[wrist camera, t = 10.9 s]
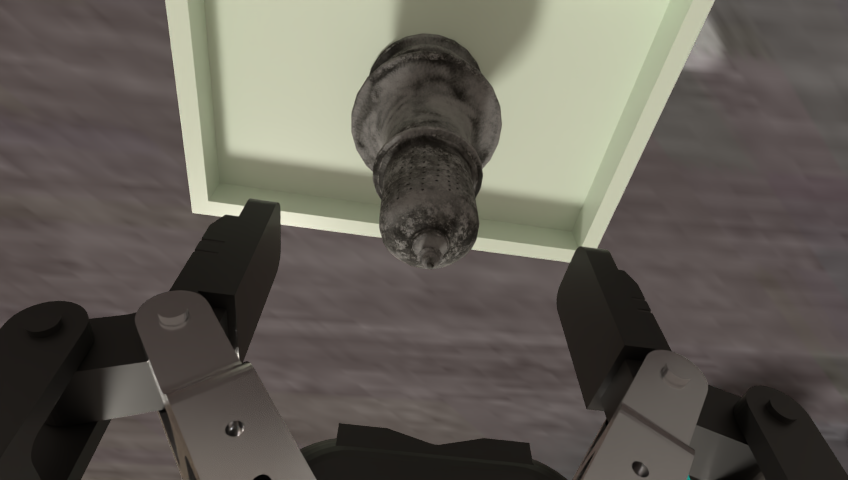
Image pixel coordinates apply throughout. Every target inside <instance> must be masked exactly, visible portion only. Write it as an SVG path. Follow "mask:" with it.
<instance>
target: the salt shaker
mask: <svg viewBox="0 0 848 480" xmlns="http://www.w3.org/2000/svg"><path fill="white" fill-rule="evenodd" d="M501 128H502V119H501V108H500V104H499V102H498V99H497V97H496V94H495V91H494V89H493V87H492V86H491V84H490V83H489V82H488V80H487V79H486V78H485V77H484V75H483V74H482V73H481V71H480V68H479V66H478V63H477V62H476V60H475V59H474V58H473V56H472V55H471V54H470V53H469V51H468V50H467V49H465V48H464V47H463V46H461V45H460V44H459V43H457V42H456V41H455V40H452V39H449V38H447V37H444V36H441V35H437V34H425V33H421V34H416V35H411V36H406V37H404V38H402V39H400V40H398V41H396V42H394V43H392V44H391V45H390V46H389V47H387V48H386V49H385V50H384V51H383V52H382V53H381V54H380V55H379V56H378V58H377V60H376V61H375V63H374V64H373V66H372V68H371V70H370V74H369V76H368V77H367V79H366V80H365V82H364V84H363V85H362V87H361V88H360V90H359V91H358V93H357V95H356V99H355V102H354V106H353V109H352V113H351V133H352V136H353V140H354V143H355V147H356V150H357V152H358V153H359V155H360V156H361V158H362V160H363V161H364V163H365V165H366V166H367V167H368V168H369V169H370V170H371V171H372V172H373V183H374V186H375V190H376V193H377V194H378V196H379V197H380V199H381V207H380V216H379V229H380V233H381V236H382V240H383V243H384V245H385V246H386V248H387V249H388V251H389V252H390V253H391V254H393V255H394V256H395V257H396V258H397V259H399V260H401V261H403V262H405V263H406V264H408V265H410V266H414V267H418V268H424V269H435V268H442V267H445V266H448V265H451V264H453V263H455V262H456V261H458V260H459V259H461V258H463V257H464V256H465V255H466V254H467V253H468V252H469V251H470V250H471V249H472V247H473V245H474V243H475V242H476V240H477V235H478V229H479V217H478V211H477V205H476V197H477V195H478V193H479V191H480V189H481V185H482V179H483V171H482V169H483V168H484V167H485V165H486V164H487V163H488V162H489V161H490V160H491V158H492V156H493V154H494V152H495V149H496V147H497V145H498V143H499V139H500V133H501Z"/></svg>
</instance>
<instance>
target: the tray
mask: <svg viewBox="0 0 848 480" xmlns="http://www.w3.org/2000/svg"><path fill="white" fill-rule="evenodd" d="M714 1H715V0H165V2H166V10H167V18H168V26H169V34H170V41H171V49H172V57H173V65H174V73H175V80H176V88H177V96H178V104H179V112H180V119H181V127H182V135H183V143H184V151H185V158H186V166H187V174H188V182H189V190H190V198H191V205H192V213H198V214H206V215H213V216H221V217H223V216H224V215H233V216H239V215H240V213H241V212H242V210H243V208H244V206H245V204H246V203H247V201H248V199H250V198H251V199H258V200H265V201H272V202H278V203H279V204H280V211H281V224H282V225H289V226H297V227H305V228H312V229H320V230H327V231H335V232H343V233H350V234H358V235H365V236H373V237H381V238H382V236H381V233H380V229H379V216H380V207H381V199H380V197H379V196H378V194H377V193H376V190H375V186H374V183H373V172H372V171H371V170H370V169H369V168H368V167H367V166H366V165H365V163H364V161H363V160H362V158H361V156H360V155H359V153H358V152H357V150H356V147H355V143H354V140H353V136H352V133H351V113H352V109H353V106H354V102H355V99H356V95H357V93H358V91H359V90H360V88H361V87H362V85H363V84H364V82H365V80H366V79H367V77H368V76H369V74H370V70H371V68H372V66H373V64H374V63H375V61H376V60H377V58H378V56H379V55H380V54H381V53H382V52H383V51H384V50H385V49H386V48H387V47H389V46H390V45H391V44H392V43H394V42H396V41H398V40H400V39H402V38H404V37H406V36H411V35H416V34H421V33H425V34H437V35H441V36H444V37H447V38H449V39H452V40H455V41H456V42H457V43H459V44H460V45H461V46H463V47H464V48H465V49H467V50H468V51H469V53H470V54H471V55H472V56H473V58H474V59H475V60H476V62H477V63H478V66H479V68H480V71H481V73H482V74H483V75H484V77H485V78H486V79H487V80H488V82H489V83H490V84H491V86H492V87H493V89H494V91H495V94H496V97H497V99H498V102H499V104H500V108H501V119H502V128H501V133H500V139H499V143H498V145H497V147H496V149H495V152H494V154H493V156H492V158H491V160H490V161H489V162H488V163H487V164H486V165H485V167H484V168H483V169H482V171H483V179H482V185H481V189H480V191H479V193H478V195H477V197H476V205H477V211H478V217H479V229H478V235H477V240H476V242H475V243H474V245H473V247H472V250H480V251H487V252H495V253H502V254H510V255H518V256H525V257H533V258H541V259H548V260H556V261H563V262H571V259H572V257H573V255H574V253H575V251H576V249H577V248H578V247H580V246H583V247H590V248H597V247H598V245H599V243H600V241H601V239H602V236H603V234H604V232H605V230H606V228H607V226H608V224H609V222H610V220H611V218H612V215H613V213H614V211H615V209H616V207H617V205H618V203H619V201H620V199H621V197H622V194H623V192H624V190H625V188H626V186H627V184H628V182H629V180H630V178H631V176H632V173H633V171H634V169H635V167H636V165H637V163H638V161H639V159H640V157H641V154H642V152H643V150H644V148H645V146H646V144H647V142H648V140H649V138H650V136H651V133H652V131H653V129H654V127H655V125H656V123H657V121H658V119H659V117H660V115H661V112H662V110H663V108H664V106H665V104H666V102H667V100H668V98H669V96H670V94H671V91H672V89H673V87H674V85H675V83H676V81H677V79H678V77H679V75H680V72H681V70H682V68H683V66H684V64H685V62H686V60H687V58H688V56H689V54H690V51H691V49H692V47H693V45H694V43H695V41H696V39H697V37H698V35H699V33H700V30H701V28H702V26H703V24H704V22H705V20H706V18H707V16H708V14H709V12H710V9H711V7H712V5H713V3H714Z"/></svg>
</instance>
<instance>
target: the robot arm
mask: <svg viewBox="0 0 848 480" xmlns="http://www.w3.org/2000/svg"><path fill="white" fill-rule="evenodd" d="M280 251H281V211H280V204H279V203H278V202H272V201H265V200H258V199H251V198H250V199H248V201H247V203H246V204H245V206H244V208H243V210H242V212H241V213H240V215H239V216H233V215H224V216H223V217H221V218H220V219H218V220H217V221H215V222H214V223H212V224H211V225H210V226H209V227H208V229H207V231H206V232H205V234H204V236H203V237H202V241H200V242H199V244H198V245H197V247H196V248H195V252H193V253H192V255H191V257H190V258H189V260H188V261H187V263H186V265H185V266H184V268H183V270H182V271H181V273H180V274H179V276H178V278H177V279H176V281H175V282H174V284H173V286H172V287H171V289H170V291H169V292H164V293H161V294H158V295H156V296H154V297H152V298H150V299H149V300H147V301H146V302H145V303H143V304H142V305H141V307H140V308H139V309H138V311H137V312H136V313H133V314H128V315H121V316H112V317H103V318H94V319H89V317H88V314H87V312H86V311H85V309H84V308H83V307H81V306H80V305H78V304H75V303H72V302H66V301H52V302H45V303H41V304H37V305H34V306H31V307H29V308H26V309H24V310H22V311H20V312H19V313H17V314H15V315H14V316H13V317H11V318H10V319H9V320H8V321H7V322H6V323H5V324H4V325H3V326H2V328H1V329H0V480H81V478H82V476H83V474H84V472H85V470H86V468H87V466H88V464H89V462H90V460H91V458H92V456H93V454H94V452H95V450H96V448H97V446H98V444H99V442H100V440H101V438H102V436H103V434H104V432H105V430H106V428H107V426H108V425H109V423H110V421H111V419H113V418H119V417H125V416H130V415H136V414H142V413H147V412H153V411H157V412H158V415H159V418H160V420H161V423H162V426H163V429H164V431H165V434H166V437H167V439H168V442H169V445H170V447H171V450H172V453H173V455H174V458H175V461H176V464H177V466H178V469H179V472H180V474H181V477H182V480H567V479H566V478H565V477H563V476H562V475H561V474H559V473H558V472H557V471H555V470H553V469H552V468H550V467H548V466H547V465H545V464H543V463H540V462H538V461H536V460H533V459H532V456H531V451H530V445H529V443H524V442H515V441H505V440H495V439H485V438H483V439H476V440H469V441H463V442H456V443H449V444H443V445H434V444H430V443H427V442H425V441H422V440H419V439H416V438H413V437H410V436H408V435H405V434H402V433H399V432H396V431H393V430H390V429H388V428H379V427H369V426H359V425H350V424H340V423H339V428H338V434H337V438H335V439H329V440H325V441H321V442H317V443H314V444H311V445H309V446H306V447H304V448H302V449H299V448H298V446H297V444H296V442H295V441H294V439H293V437H292V435H291V433H290V432H289V430H288V428H287V426H286V424H285V423H284V421H283V419H282V417H281V415H280V414H279V412H278V410H277V408H276V407H275V405H274V403H273V401H272V399H271V398H270V396H269V394H268V392H267V390H266V389H265V387H264V385H263V383H262V381H261V380H260V378H259V376H258V374H257V373H256V371H255V369H254V367H253V366H252V365H251V364H250V363H249V362H247V361H246V362H244V363H243V361H244V358H245V355H246V353H247V350H248V347H249V345H250V342H251V339H252V337H253V334H254V331H255V329H256V326H257V323H258V321H259V318H260V316H261V313H262V310H263V308H264V305H265V302H266V300H267V297H268V294H269V292H270V289H271V286H272V284H273V281H274V278H275V276H276V273H277V270H278V266H279V260H280ZM557 310H558V314H559V317H560V321H561V324H562V327H563V331H564V334H565V337H566V341H567V344H568V348H569V351H570V354H571V358H572V361H573V365H574V368H575V371H576V375H577V378H578V382H579V385H580V388H581V392H582V395H583V398H584V402H585V405H586V409H590V410H599V411H604V412H605V415H606V420H605V421H604V423H603V425H602V426H601V428H600V430H599V432H598V433H597V435H596V437H595V439H594V441H593V442H592V444H591V446H590V448H589V450H588V452H587V453H586V455H585V457H584V459H583V461H582V462H581V464H580V466H579V468H578V470H577V472H576V473H575V475H574V477H573V479H572V480H687V477H688V475H689V477H690V480H848V475H847V474H846V472H845V471H844V469H843V467H842V466H841V464H840V463H839V461H838V460H837V458H836V457H835V455H834V453H833V452H832V450H831V449H830V447H829V446H828V444H827V443H826V441H825V439H824V438H823V436H822V435H821V433H820V432H819V430H818V428H817V427H816V425H815V424H814V422H813V421H812V419H811V418H810V416H809V415H808V413H807V412H806V411H805V410H804V409H803V408H802V407H801V406H800V405H799V404H798V403H797V402H795V401H794V400H793V399H792V398H790V397H789V396H787V395H785V394H784V393H782V392H780V391H778V390H775V389H773V388H770V387H765V386H754V387H751V388H750V389H749V390H748V391H747V392H746V393H745V394H744V395H743V396H742V397H739V396H736V395H734V394H731V393H728V392H726V391H723V390H720V389H718V388H715V387H712V386H710V385H708V383H707V380H706V378H705V376H704V375H703V373H702V372H701V371H700V369H699V368H698V367H697V366H696V365H695V364H693V363H692V362H691V361H690V360H688V359H687V358H685V357H683V356H681V355H679V354H677V353H675V352H672V351H671V349H670V347H669V345H668V343H667V341H666V339H665V337H664V335H663V333H662V331H661V329H660V327H659V325H658V323H657V321H656V319H655V317H654V315H653V314H652V313H650V311H651V310H650V308H649V306H648V304H647V302H646V301H645V298H644V296H643V294H642V292H641V290H640V288H639V286H638V284H637V283H636V282H635V281H634V280H633V279H632V278H631V277H630V276H629V275H628V274H627V273H626V272H625V271H623V270H618V268H617V266H616V264H615V262H614V260H613V258H612V256H611V254H610V252H609V251H608V250H604V249H597V248H590V247H583V246H580V247H578V248H577V249H576V251H575V253H574V255H573V257H572V259H571V262H570V264H569V266H568V269H567V271H566V273H565V275H564V278H563V280H562V282H561V285H560V287H559V290H558V294H557Z"/></svg>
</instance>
